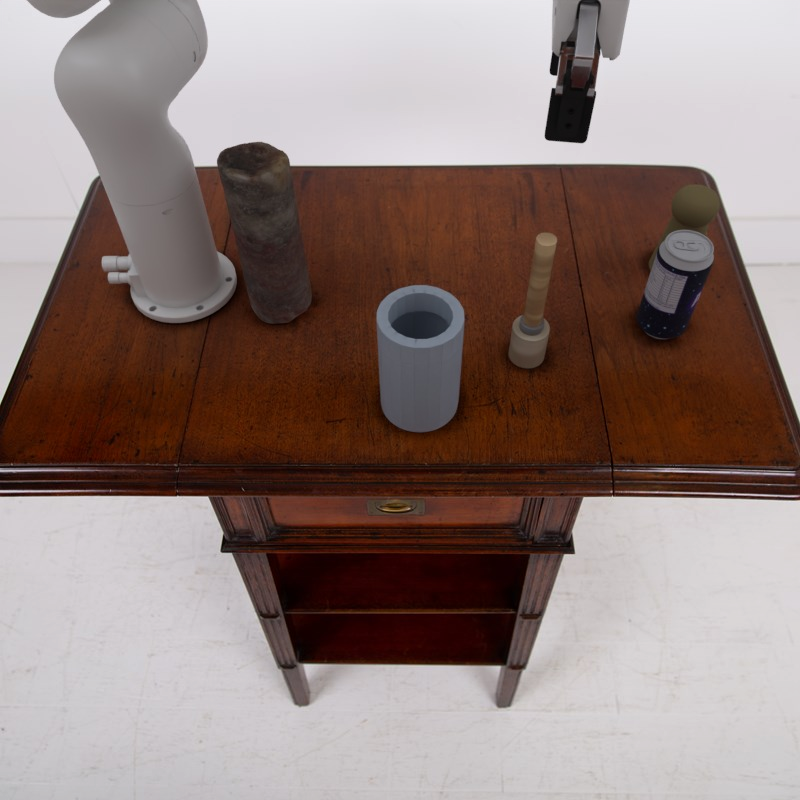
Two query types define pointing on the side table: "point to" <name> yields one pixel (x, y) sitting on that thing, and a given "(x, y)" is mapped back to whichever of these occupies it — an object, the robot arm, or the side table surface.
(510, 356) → the brush
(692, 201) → the olive pawn
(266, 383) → the side table surface
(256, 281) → the brown rough cylinder
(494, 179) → the side table surface
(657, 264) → the beverage can
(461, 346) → the grey hollow tube
